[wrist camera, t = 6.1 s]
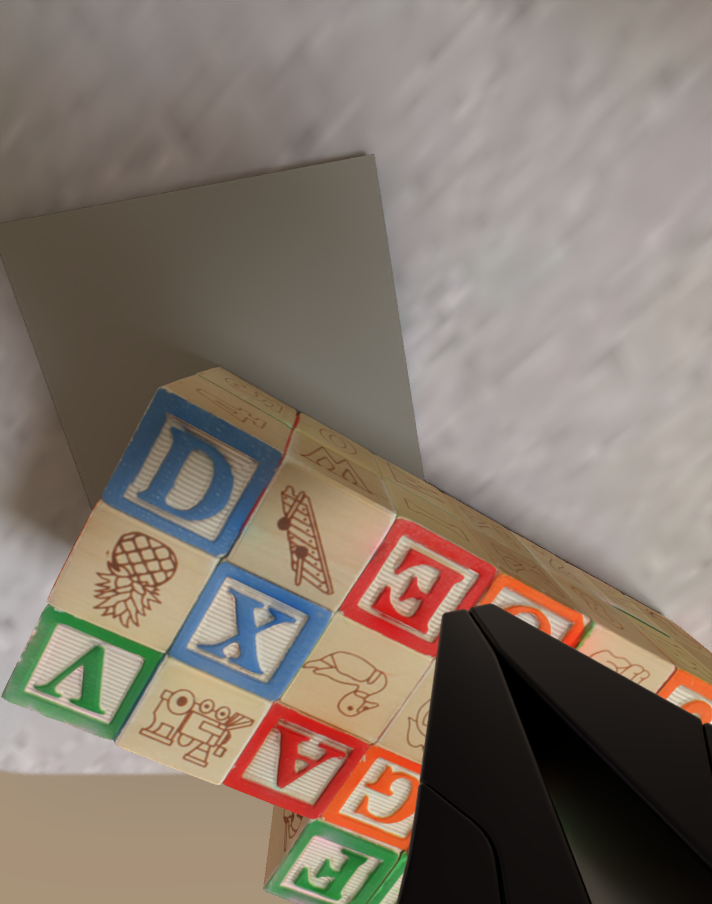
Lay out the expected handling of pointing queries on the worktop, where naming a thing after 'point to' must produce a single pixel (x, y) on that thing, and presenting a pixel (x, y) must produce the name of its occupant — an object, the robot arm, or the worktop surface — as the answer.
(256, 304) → the mat
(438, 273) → the worktop surface
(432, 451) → the worktop surface
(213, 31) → the worktop surface
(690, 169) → the worktop surface
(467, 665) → the robot arm
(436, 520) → the stack of blocks
